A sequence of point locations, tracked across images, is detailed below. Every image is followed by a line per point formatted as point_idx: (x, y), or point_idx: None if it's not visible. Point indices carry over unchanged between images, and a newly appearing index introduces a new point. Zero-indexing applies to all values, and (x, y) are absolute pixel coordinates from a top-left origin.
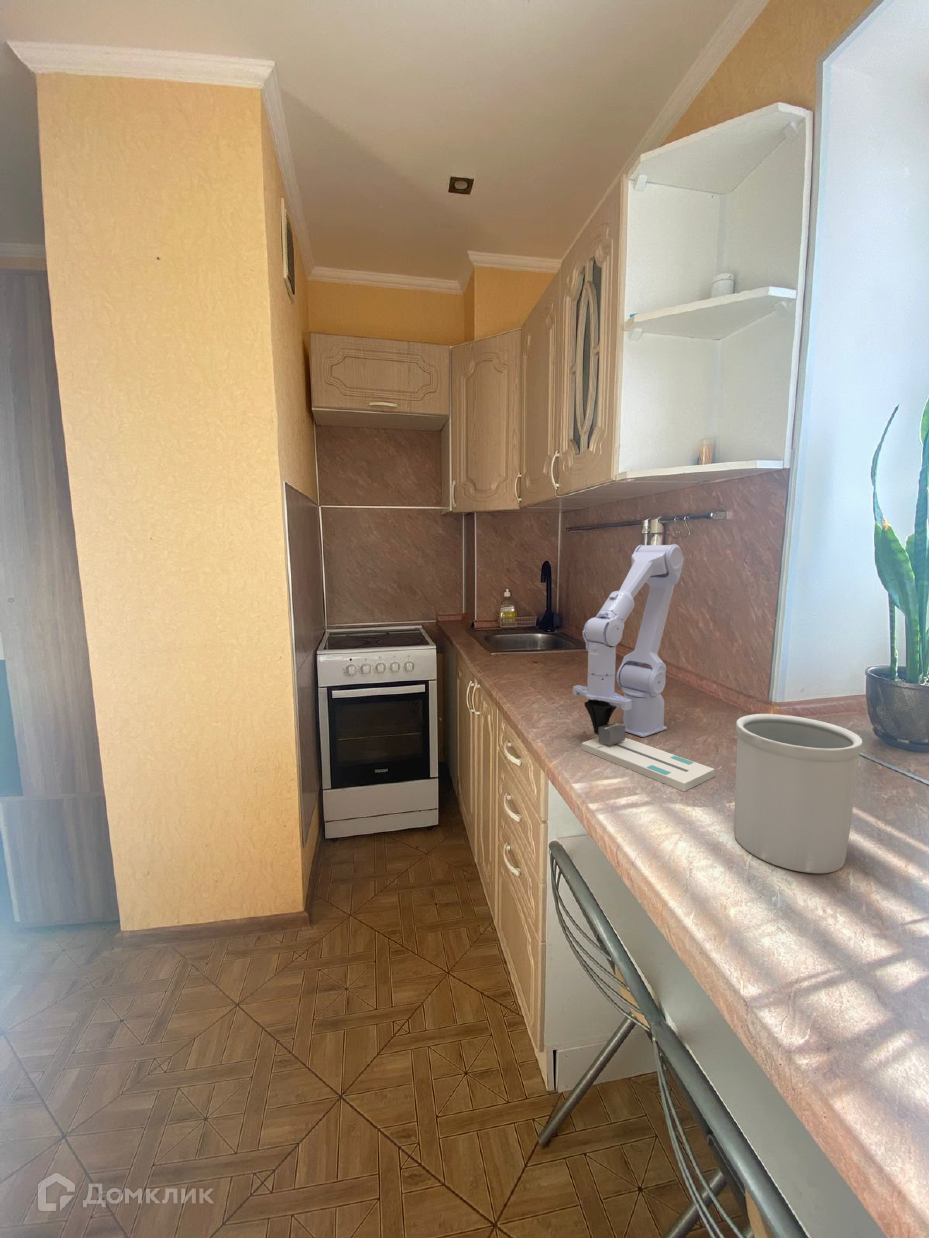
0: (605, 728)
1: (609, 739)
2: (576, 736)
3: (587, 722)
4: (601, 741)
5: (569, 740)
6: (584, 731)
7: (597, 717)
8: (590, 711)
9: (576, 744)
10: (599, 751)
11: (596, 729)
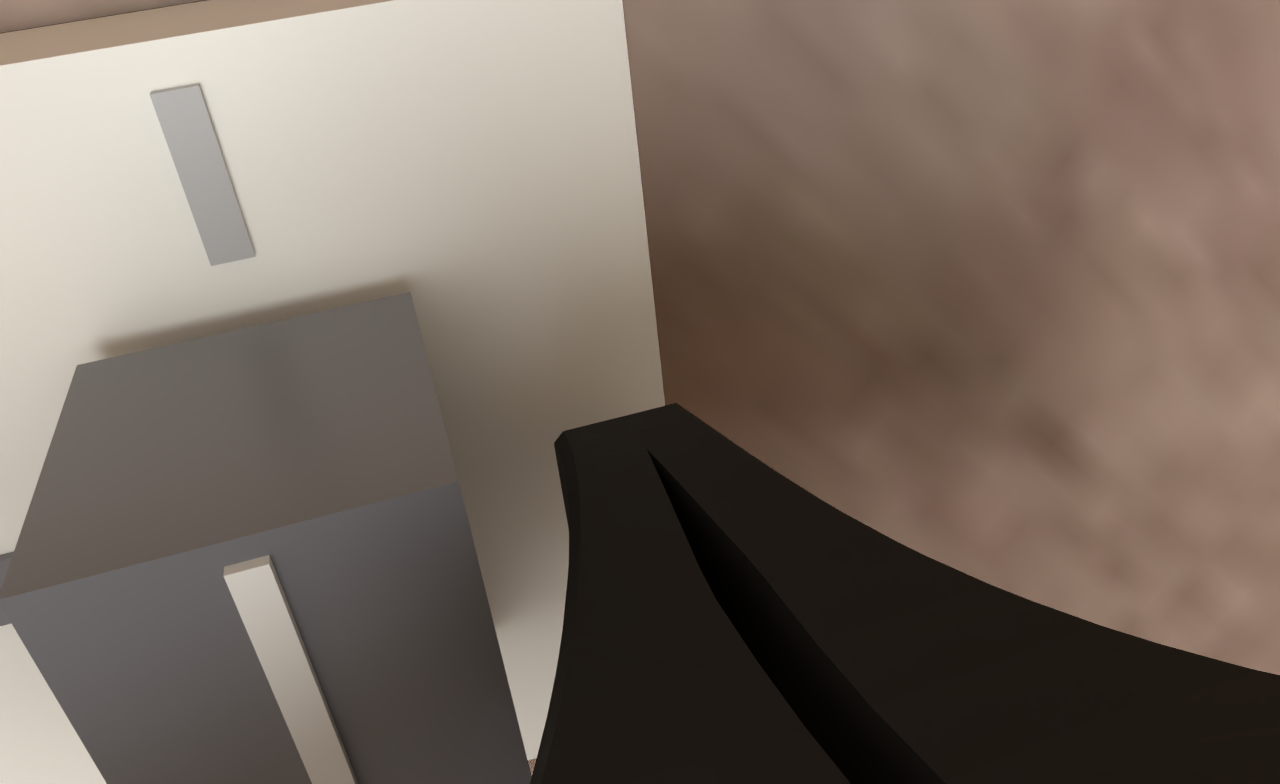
0: (229, 577)
1: (63, 441)
2: (1035, 256)
3: (1206, 633)
4: (320, 321)
5: (1007, 37)
6: (1069, 462)
7: (671, 686)
8: (1014, 684)
9: (812, 30)
10: (40, 46)
11: (637, 460)
